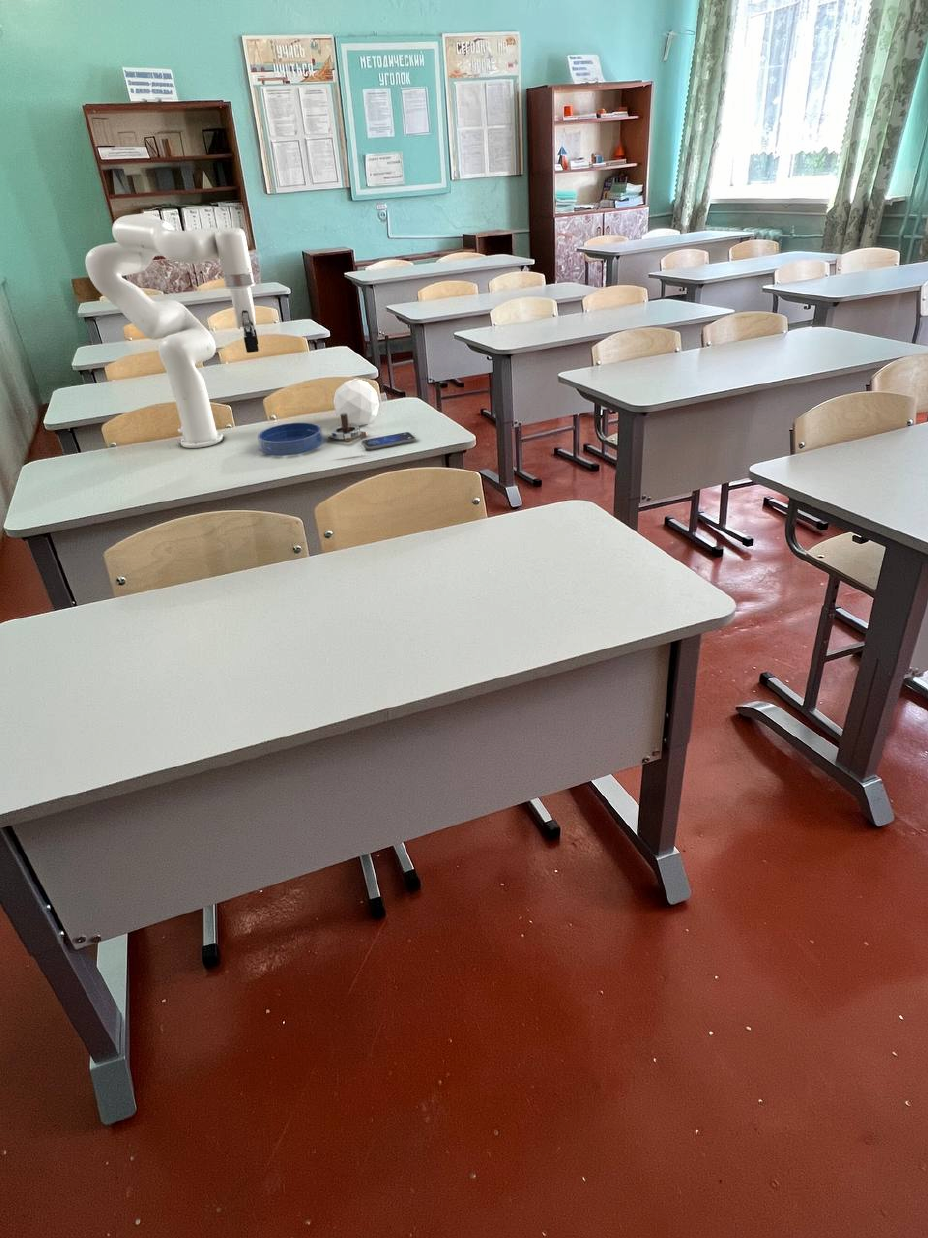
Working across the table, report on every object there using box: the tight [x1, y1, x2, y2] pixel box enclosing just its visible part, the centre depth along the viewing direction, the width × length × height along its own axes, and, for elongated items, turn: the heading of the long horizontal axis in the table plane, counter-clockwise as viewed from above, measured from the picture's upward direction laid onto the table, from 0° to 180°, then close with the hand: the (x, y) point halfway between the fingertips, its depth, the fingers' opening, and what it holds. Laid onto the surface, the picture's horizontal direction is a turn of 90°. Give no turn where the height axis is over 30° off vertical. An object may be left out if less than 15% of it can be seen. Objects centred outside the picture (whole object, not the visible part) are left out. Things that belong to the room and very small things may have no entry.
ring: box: [330, 424, 362, 439], centre depth 224 cm, size 8×8×2 cm
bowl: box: [257, 422, 324, 456], centre depth 221 cm, size 18×18×4 cm
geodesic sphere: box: [332, 377, 380, 427], centre depth 234 cm, size 15×14×14 cm
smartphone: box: [360, 431, 417, 451], centre depth 219 cm, size 7×1×15 cm
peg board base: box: [327, 413, 367, 443], centre depth 223 cm, size 8×8×8 cm
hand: (252, 348), depth 208 cm, fingers open, 9 cm apart
